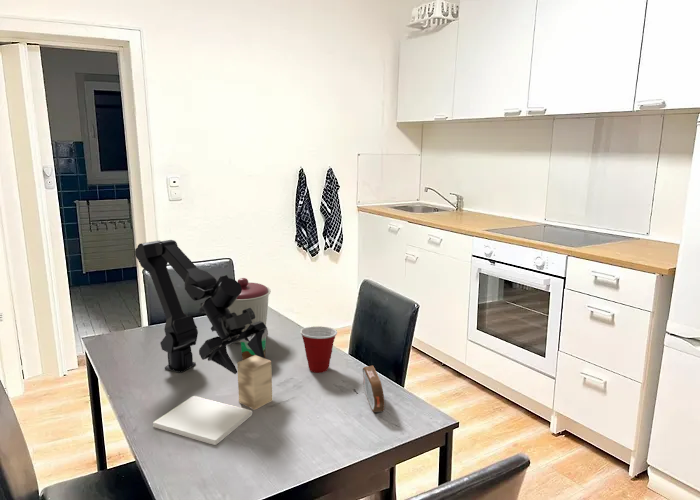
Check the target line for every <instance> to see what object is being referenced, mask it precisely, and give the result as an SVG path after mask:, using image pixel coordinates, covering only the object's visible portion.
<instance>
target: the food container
mask: <svg viewBox="0 0 700 500" xmlns="http://www.w3.org/2000/svg"><path fill="white" fill-rule="evenodd" d="M255 323H256V322H255ZM268 336H269V330H268V328H267V329H266V330H265V333H264V334H263V335H262V347H263V352H264V357H265V358H266V348H267V347H266V345H267V337H268ZM240 342H241V343H240V350H241V361H242V360H244V359H247V358H249V357H252V356H254V355H255V353H254V352H253V351H252V350H251V348H250V347H249V346H248V345H247V344H248V341H246V340H245V339H242V340H240Z"/></svg>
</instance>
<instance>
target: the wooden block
mask: <svg viewBox="0 0 700 500" xmlns="http://www.w3.org/2000/svg"><path fill="white" fill-rule="evenodd" d="M236 366H237V367H236V369H237V383H238V384H237V385H238V387H237V389H238V390H237V391H238V403H240V404H241V405H244V406H246V407H248V408H250V409H251V410H254V411H255V410H257V409H259V408H261V407H263V406H264V405H266V404H269V403H271V402H272V401H273V381H272V380H273V379H272V378H273V375H272V374H273V373H272V360H270V359H267V358H266V357H265V358H262V357H259V356H257V355H254V356H252V357H249V358H247V359H244V360H242V359H241V360H239V361H237V363H236Z"/></svg>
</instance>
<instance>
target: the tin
mask: <svg viewBox="0 0 700 500" xmlns="http://www.w3.org/2000/svg"><path fill="white" fill-rule="evenodd" d="M362 373H363V383H362V385H363V389H364V390H363V391H364V393H365V397H366V400H367V402H368V404H369V408H370V410H371V412H373V413H378V412H379V413H380V412H384V411H385V397H384V390H383V385H382V382H381V379H380V377H379V375H378V373H377V370H376V368H375V367H374V365H367V366H364V367H363V368H362Z"/></svg>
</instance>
